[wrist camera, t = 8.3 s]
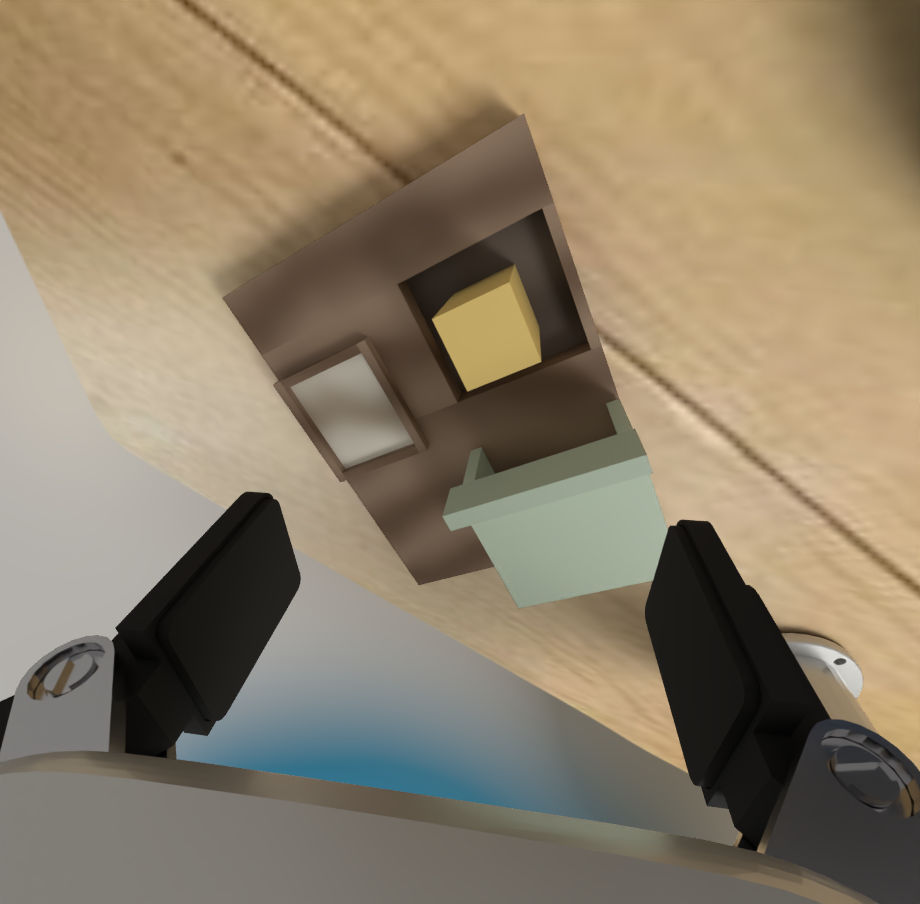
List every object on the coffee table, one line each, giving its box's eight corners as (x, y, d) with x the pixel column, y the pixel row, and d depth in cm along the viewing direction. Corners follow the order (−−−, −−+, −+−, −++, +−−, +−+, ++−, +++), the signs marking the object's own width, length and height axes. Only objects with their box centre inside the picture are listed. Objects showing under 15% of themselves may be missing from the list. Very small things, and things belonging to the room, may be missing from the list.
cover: (656, 511, 30) (696, 609, 22) (520, 546, 33) (517, 642, 26) (614, 384, 26) (646, 454, 18) (464, 438, 29) (442, 516, 22)
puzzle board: (654, 508, 32) (665, 536, 29) (423, 568, 39) (415, 596, 36) (524, 120, 22) (523, 108, 19) (240, 292, 29) (209, 301, 26)
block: (539, 327, 27) (541, 361, 21) (480, 352, 28) (467, 391, 22) (514, 263, 25) (509, 282, 19) (453, 293, 26) (431, 319, 21)
